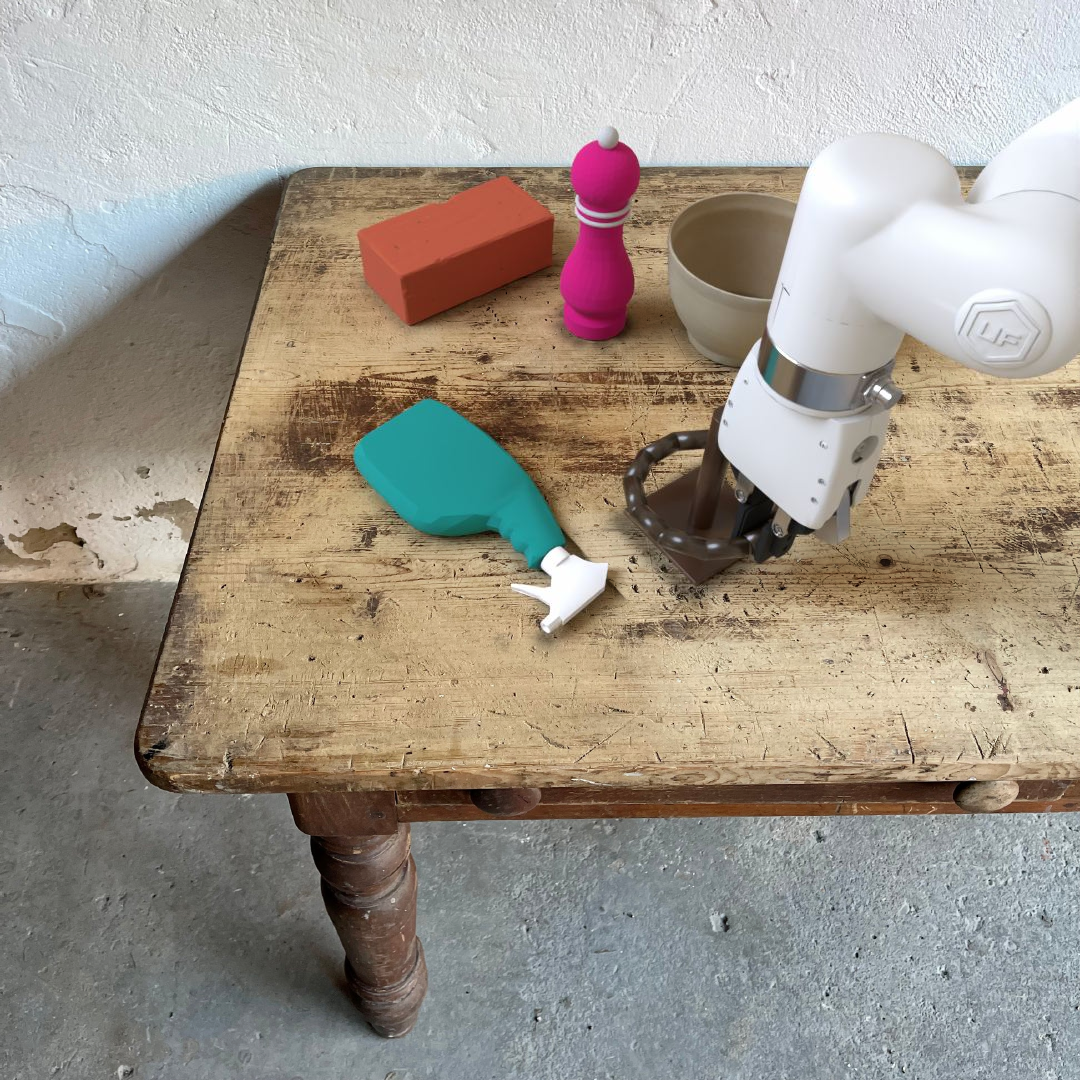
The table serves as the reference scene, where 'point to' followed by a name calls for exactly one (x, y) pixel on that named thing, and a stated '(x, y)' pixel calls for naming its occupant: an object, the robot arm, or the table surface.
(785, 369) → the robot arm
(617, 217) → the pepper mill
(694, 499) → the stand
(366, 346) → the table surface
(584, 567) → the spray bottle
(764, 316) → the planter bowl
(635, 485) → the ring
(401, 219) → the brick
